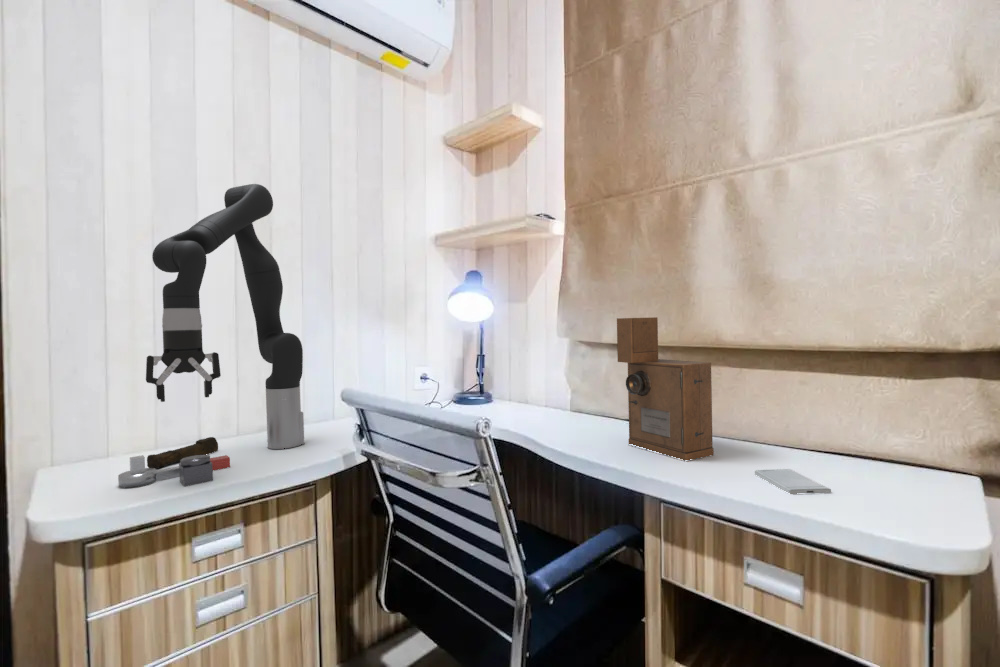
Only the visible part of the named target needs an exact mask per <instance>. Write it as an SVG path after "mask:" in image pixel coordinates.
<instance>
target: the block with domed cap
mask: <svg viewBox="0 0 1000 667" xmlns="http://www.w3.org/2000/svg"><path fill="white" fill-rule="evenodd" d="M210 458H211V455H210V454H208V455H195V456H190V457H186V458H183V459H181V460H180V463H178V466H179V477H178V478H179V482H180V483H181V484H182V486H183V487H188V485H189V486H193V485H198V484H203V483H208V482H212V480H213V481H214V476H213V475H214V473H213V472H214V471H213V467H212V462H210ZM202 482H203V483H202Z"/></svg>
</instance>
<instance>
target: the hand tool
mask: <svg viewBox="0 0 1000 667" xmlns="http://www.w3.org/2000/svg"><path fill="white" fill-rule="evenodd" d="M218 450H219V443H218V441H217V439H216V437H214V436H209V437H206V438H200V439H198V440H196V441H195V443H193V444H190V445H187V446H184V447H180V448H177V449H176V448H175V449H172V450H171V449H170V450H169V449H168V450H167V451H163V452H160V453H157V454H149V455H147V457H146V463H147V464H146V465H147V468H155V469H156V470H158V469H159V468H164V466H166V465H171V464H172V463H173V464H175V463H176V462H179V461H180V460H181V459H183V458H186V457H190V456H195V455H206V454H208V455H210V454H209V453H211V454H213V453H215V452H217V451H218ZM214 451H215V452H214ZM212 452H213V453H212Z"/></svg>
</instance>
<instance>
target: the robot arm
mask: <svg viewBox="0 0 1000 667" xmlns="http://www.w3.org/2000/svg"><path fill="white" fill-rule="evenodd" d="M223 199H224V207H225V208H223V209H220V210H219V211H216V212H213V213H212V214H209V215H208V216H206V217H205V216H204V218H202V219H201V220H199V221H198V222H196V223H195V224H193V225H192V226H191V227H190V228H188V229H187V230H184V231H182V232H179V233H177V234H175V235H172V236H170V237H167V238H166V239H164V240H162V241H160V242H159V243H158V244H156V246H155V247H154V249H153V251H152V262H153V264H154V265H155V267H156V268H157V269H159V270H160V271H162V272H165V273H171V274H172V273H177V275H176V279H175V280H174V281H172V282H168V283H166V284H164V285H163V288H162V304H163V305H162V306H163V308H162V318H161V319H162V323H161V324H162V325H161V328H162V343H163V344H162V345H163V346H162V348H163V352H162V355H159V356H158V355H148V356H146V361H145V362H146V366H145V368H146V369H145V370H146V371H145V381H146V383H147V384H153V385H155V386H156V398H157V400H158V401H159V400H160V403H163V402H166V396H165V384H164V383H165V381H166V380H167V379H168V378H169V377H170V376H171V374H172V373H174V374H183V373H187V374H188V373H189V374H190V373H194V372H197V374H199V375H200V376H201V377H202V378H203V379H204V380H203V390H204V398H209V397H210V395H212V393H213V381H214V380H215V379H218V378H220V377H221V368H220V366H221V365H220V357H219V353H218V352H211V353H205V352H204V350H203V321H202V314H201V307H200V303H201V302H200V290H201V286H202V282H203V278H204V274H205V271H206V267H207V255H209V254H211V253H213V252H214V251H215V250H216V249H218V248H219V247H220V246H221V245H223V244H224V243H225V242H226V241H227V240H229V239H231V238H232V237H233V236H234V238H235V240H236V244H237V247H238V251H239V254H240V259H241V264H242V267H243V273H244V278H245V281H246V282H245V283H246V287H247V290H248V294H249V297H250V303H251V307H252V311H253V315H254V319H255V320H254V321H255V326H256V333H257V335H256V336H257V342H258V343H257V344H258V349H259V350H258V351H259V354H260V356H261V357H262V359H263V360H264V361H265V362H267V363H268V364H272V365H271V367H272V369H271V370H272V371H271V374H270V376H268V377H267V378H266V379H265V407H266V408H265V409H266V431H267V433H266V434H267V435H266V436H267V437H266V438H267V439H266V442H267V448H268V449H272V450H282V449H283V450H285V449H290V448H296V447H298V446H301V444H302V445H304V444H305V426H304V425H305V422H304V421H305V420H304V412H303V411H301V409H302V407H301V379H302V377H303V367H304V366H303V364H304V363H303V362H304V361H303V360H304V356H303V355H304V353H303V344H302V341H301V340H300V338H299V337H298V336H297V335H296V334H294V333H291V332H284V330H283V325H282V322H281V316H280V315H281V312H280V310H281V304H282V300H283V299H282V298H283V291H284V290H283V279H282V276H281V270H280V267H279V264H278V262H277V259H275V257H274V256H273V255H272V254H271V252H269V250H268V249H267V248H266V247H265V246H264V245H263V243H262V242H261V241H260V239H259V237H258V236H257V234H256V231H255V227H254V222H256V221H258V220H260V219H262V218H264V217H266V216H269V214H271V212H272V210H273V208H274V200H273V197H272V194H271V193H270V191H269V189H267V187H266V186H264V185H262V184H258V183H252V184H251V183H250V184H245V185H244V184H243V185H240V186H235V187H234V186H233V187H230V188H228V189H226V191H225V193H224V196H223ZM205 359H207V360H208V362H209V363H211V366H212V373H210V374H209V373H208V371H206V370H205V368H203V366H202V363H203V362H204V360H205ZM160 361H161V362H162V363H163V364H164V365H165V366H166V367H165V369H164V370H163V371H162V373H161V374H160V375H159V376H158V377H157V378H156V377H154V366H157V365H158V364H159V362H160ZM284 448H285V449H284Z"/></svg>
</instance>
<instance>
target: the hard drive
mask: <svg viewBox="0 0 1000 667" xmlns="http://www.w3.org/2000/svg"><path fill="white" fill-rule="evenodd" d="M754 475H755V476H756V475H757V476H756V477H758V476H759V477H760V479H761V478H762V479H761V480H763V479H764V480H763V481H765V480H766V481H768V482H769V483H768V482H767V483H768V484H770V483H771V485H772V484H773V485H775V486H776V487H775V486H774V487H775V488H777V487H778V488H777V489H779V488H780V489H779V490H781V489H782V490H784V491H786V492H788V493H790V494H793V495H798V494H797V493H824V494H831V493H832V489H831V488H829V487H827V486H825V485H823V484H821V483H819V482H817V481H815V480H813V479H812V478H809V477H807V476H805V475H803V474H801V473H799V472H797V471H795V470H793V469H791V468H782V469H781V468H780V469H779V468H777V469H776V468H775V469H757V470H755V471H754ZM759 477H758V478H759ZM766 481H765V482H766ZM773 485H772V486H773ZM782 490H781V491H782ZM784 491H783V492H784ZM786 492H785V493H786ZM788 493H787V494H788Z"/></svg>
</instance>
